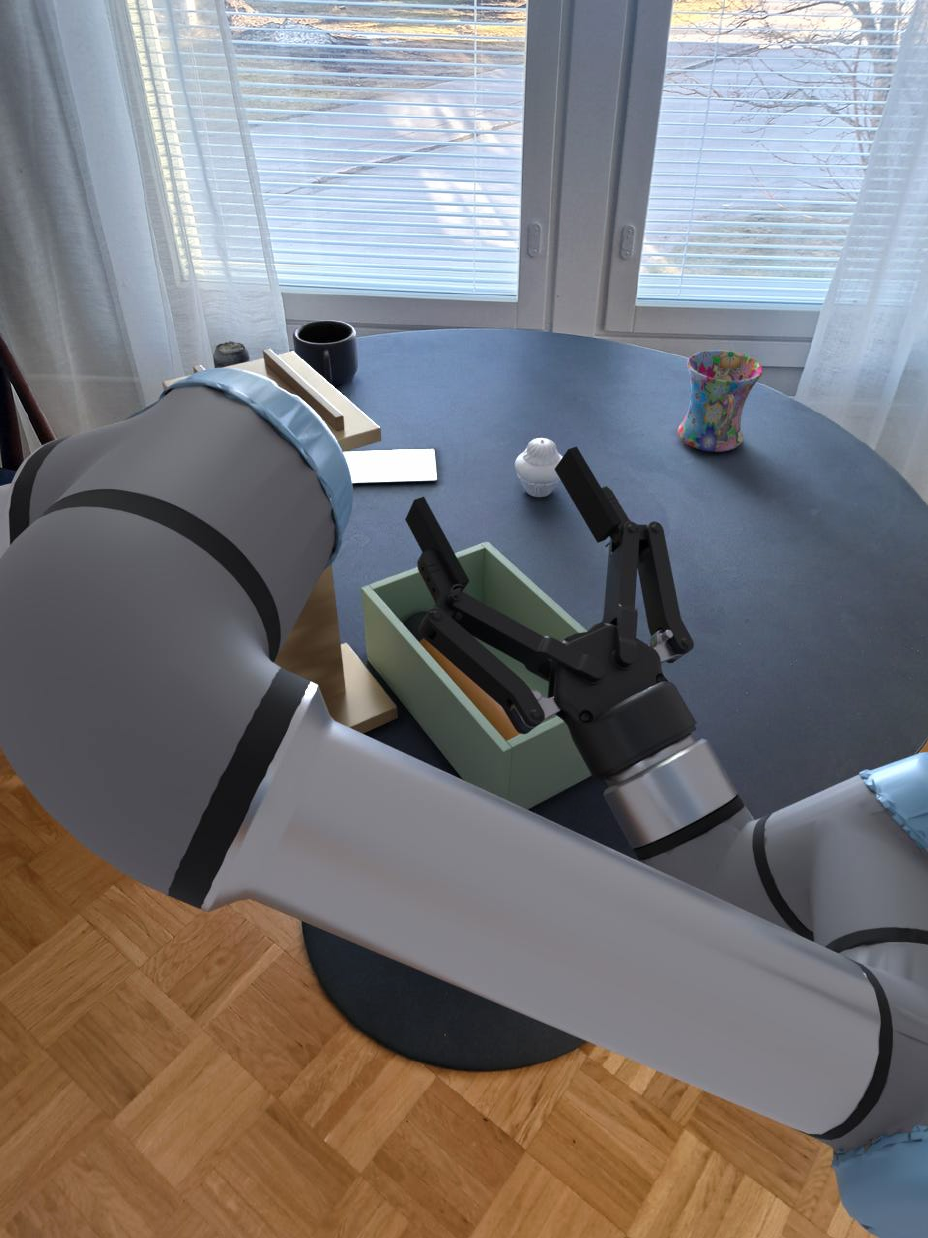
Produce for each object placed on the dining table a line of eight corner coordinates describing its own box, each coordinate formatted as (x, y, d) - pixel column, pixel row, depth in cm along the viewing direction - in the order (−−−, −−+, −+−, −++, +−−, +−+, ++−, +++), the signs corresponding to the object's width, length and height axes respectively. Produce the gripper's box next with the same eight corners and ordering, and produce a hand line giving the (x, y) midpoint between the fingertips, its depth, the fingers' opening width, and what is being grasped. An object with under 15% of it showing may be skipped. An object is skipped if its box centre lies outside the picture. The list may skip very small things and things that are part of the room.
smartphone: (437, 480, 107) (306, 482, 106) (437, 484, 108) (306, 486, 106) (434, 449, 113) (309, 450, 112) (434, 452, 113) (310, 454, 112)
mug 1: (297, 367, 132) (292, 321, 128) (357, 363, 133) (353, 317, 129) (298, 403, 123) (292, 355, 119) (362, 399, 124) (359, 351, 120)
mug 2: (669, 422, 120) (682, 348, 113) (737, 424, 120) (754, 350, 113) (681, 467, 111) (696, 390, 104) (754, 470, 111) (775, 392, 104)
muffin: (545, 472, 110) (549, 422, 105) (573, 495, 106) (579, 444, 101) (503, 485, 107) (506, 434, 103) (530, 509, 103) (534, 457, 99)
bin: (499, 825, 69) (503, 752, 63) (366, 659, 84) (360, 587, 78) (630, 755, 75) (644, 682, 69) (485, 611, 89) (487, 540, 83)
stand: (282, 790, 72) (215, 459, 51) (221, 687, 80) (144, 370, 60) (409, 732, 76) (394, 409, 56) (338, 641, 85) (303, 334, 65)
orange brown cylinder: (512, 786, 71) (516, 753, 68) (399, 651, 83) (398, 619, 81) (551, 767, 73) (556, 734, 70) (435, 637, 85) (435, 605, 82)
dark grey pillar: (260, 415, 121) (247, 330, 113) (282, 438, 116) (270, 351, 108) (197, 431, 117) (178, 345, 109) (217, 456, 112) (199, 368, 104)
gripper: (474, 853, 54) (327, 559, 59) (749, 704, 64) (605, 464, 69) (514, 833, 48) (345, 505, 52) (814, 671, 58) (649, 408, 62)
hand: (492, 481), depth 61 cm, fingers open, 12 cm apart
